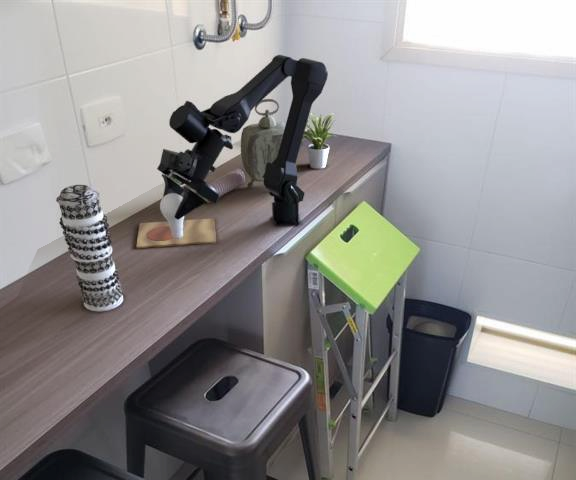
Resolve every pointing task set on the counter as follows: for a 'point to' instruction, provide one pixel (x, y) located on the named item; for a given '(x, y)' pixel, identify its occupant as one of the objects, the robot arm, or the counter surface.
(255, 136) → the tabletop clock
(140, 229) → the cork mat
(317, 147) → the house plant
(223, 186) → the coil
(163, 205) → the lightbulb
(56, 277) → the counter surface
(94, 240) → the white patterned tall cylinder
